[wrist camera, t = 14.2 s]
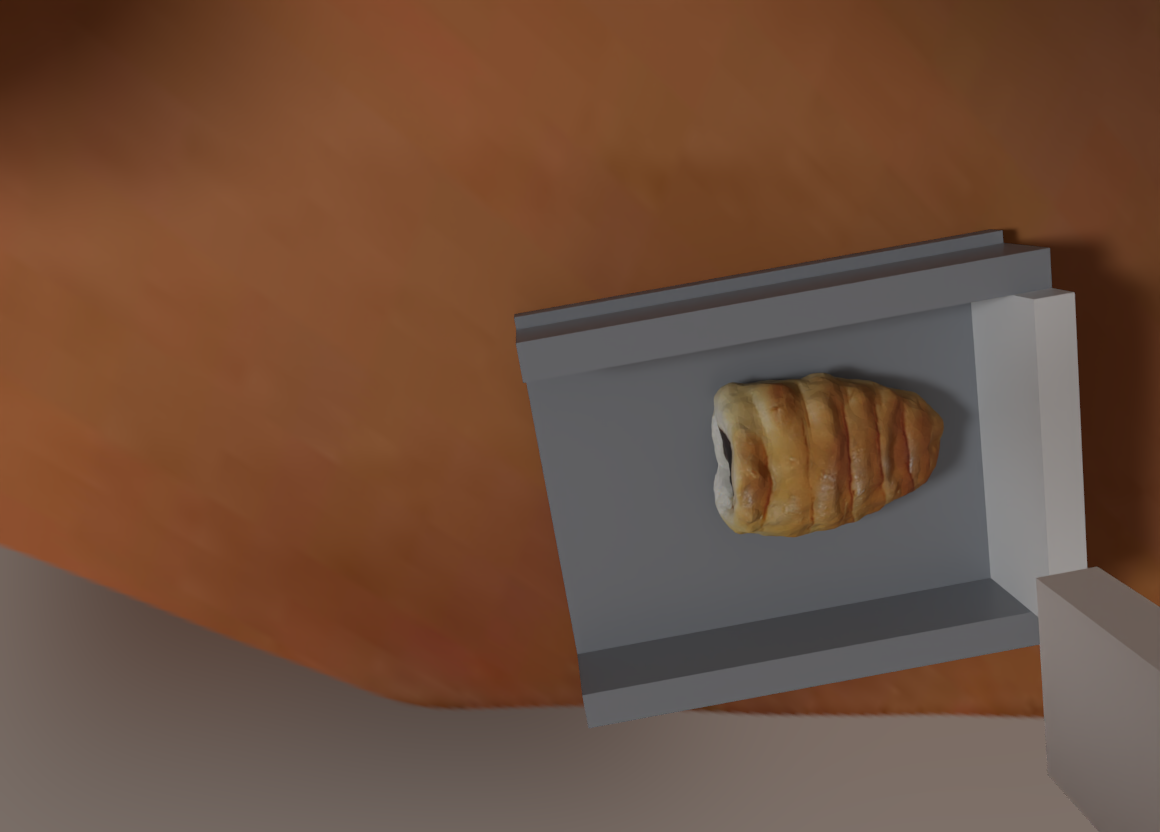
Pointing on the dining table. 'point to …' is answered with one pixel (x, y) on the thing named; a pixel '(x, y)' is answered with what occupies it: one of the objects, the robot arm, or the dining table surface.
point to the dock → (822, 558)
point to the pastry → (817, 452)
